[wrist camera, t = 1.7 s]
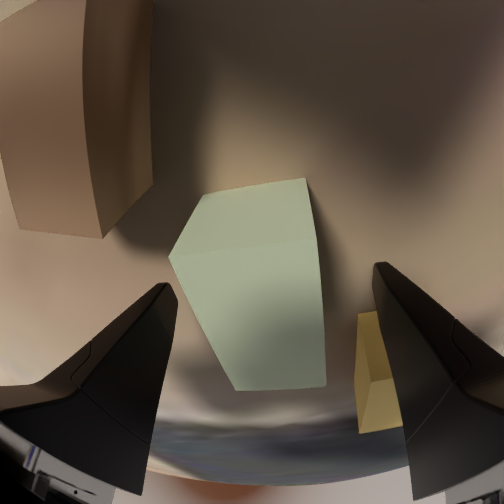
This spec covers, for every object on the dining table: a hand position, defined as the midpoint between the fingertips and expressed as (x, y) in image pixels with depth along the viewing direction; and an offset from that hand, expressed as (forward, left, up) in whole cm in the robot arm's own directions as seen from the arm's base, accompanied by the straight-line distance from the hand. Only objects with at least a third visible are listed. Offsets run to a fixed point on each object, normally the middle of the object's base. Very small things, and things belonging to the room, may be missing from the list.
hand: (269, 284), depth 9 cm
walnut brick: (+4, -7, -1) cm, 8 cm away
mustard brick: (-5, +6, -1) cm, 8 cm away
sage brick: (0, 0, -1) cm, 1 cm away
